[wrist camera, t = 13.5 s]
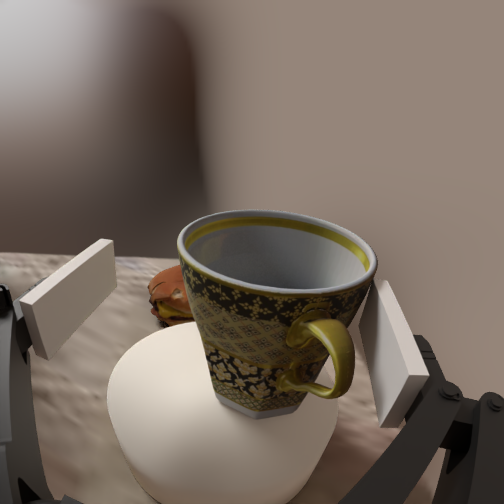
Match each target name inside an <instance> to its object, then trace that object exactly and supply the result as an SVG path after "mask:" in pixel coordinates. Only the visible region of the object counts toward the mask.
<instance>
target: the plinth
mask: <svg viewBox="0 0 504 504" xmlns="http://www.w3.org/2000/svg"><path fill="white" fill-rule="evenodd" d="M314 383H318V384H321V385H323V386H326V387H329V388H331V389H333V387H334V383H333V381H332V379H331V377H330V375H329V374H328V372H327V370H326V369H325V367H324V366H323V368H322V370H321V372H320V374H319V375H318V377H317V379H316V381H315V382H314ZM107 405H108V412H109V415H110V418H111V422H112V425H113V427H114V430H115V433H116V436H117V438H118V441H119V443H120V446H121V449H122V451H123V454H124V456H125V459H126V461H127V463H128V466H129V468H130V470H131V472H132V474H133V475H134V477H135V479H136V480H137V482H138V483H139V484H140V485H141V486H142V488H143V489H144V490H145V491H146V492H147V493H148V494H149V495H151V496H152V497H153V498H154V499H155V500H157V501H158V502H160V503H161V504H286V503H287V502H289V501H290V500H291V499H292V498H294V497H295V496H296V495H297V494H298V493H299V492H300V491H301V489H302V488H303V487H304V485H305V484H306V483H307V481H308V479H309V478H310V476H311V474H312V472H313V470H314V469H315V467H316V465H317V463H318V461H319V459H320V457H321V456H322V454H323V452H324V450H325V448H326V446H327V444H328V442H329V440H330V438H331V436H332V434H333V432H334V430H335V426H336V422H337V419H338V407H339V406H338V398H335V399H324V398H321V397H318V396H316V395H314V394H312V393H310V392H308V394H307V395H306V397H305V398H304V400H303V402H302V403H301V405H300V406H299V408H298V409H297V410H296V411H295V412H293V413H291V414H286V415H281V416H275V417H270V418H264V419H258V420H256V419H253V418H251V417H249V416H247V415H245V414H243V413H241V412H239V411H237V410H235V409H233V408H231V407H229V406H227V405H225V404H223V403H222V402H220V401H219V400H218V399H217V398H216V396H215V393H214V389H213V386H212V382H211V378H210V373H209V369H208V364H207V360H206V356H205V352H204V348H203V344H202V340H201V336H200V333H199V330H198V328H197V325H196V322H189V323H184V324H179V325H175V326H171V327H168V328H165V329H162V330H160V331H157V332H155V333H153V334H151V335H149V336H147V337H145V338H143V339H142V340H141V341H139V342H138V343H136V344H135V345H134V346H132V347H131V348H130V349H129V350H128V351H127V352H126V353H125V354H124V355H123V356H122V357H121V359H120V360H119V362H118V363H117V365H116V366H115V368H114V370H113V372H112V375H111V377H110V380H109V384H108V389H107Z"/></svg>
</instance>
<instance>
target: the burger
mask: <svg viewBox="0 0 504 504" xmlns="http://www.w3.org/2000/svg"><path fill="white" fill-rule="evenodd" d="M148 289H149V293H150V294H151V297H150V300H149V302H150V303H151V304H152V306H153V308H152V309H151V313H152V314H153V315H156V316H157V318H158V319H159V320H160V321H165V322H166V323H167V324H168V325H169V326H170V327H171V326H175V325H179V324H184V323H189V322H195V319H194V317H193V314H192V311H191V308H190V305H189V301H188V297H187V293H186V289H185V285H184V280H183V276H182V271H181V265H178V266H174V267H172V268H169V269H166V270H164V271H162V272H160V273H159V274H157V275H156V276H155V277H154V278H153V279H152V280H151V281H150V283H149V285H148Z"/></svg>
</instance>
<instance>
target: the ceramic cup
mask: <svg viewBox="0 0 504 504" xmlns="http://www.w3.org/2000/svg"><path fill="white" fill-rule="evenodd" d="M177 247H178V253H179V259H180V265H181V271H182V276H183V280H184V285H185V289H186V293H187V297H188V301H189V305H190V308H191V311H192V314H193V317H194V319H195V322H196V325H197V328H198V330H199V333H200V336H201V340H202V344H203V348H204V352H205V356H206V360H207V364H208V369H209V373H210V378H211V382H212V386H213V389H214V393H215V396H216V398H217V399H218V400H219V401H220V402H222V403H223V404H225V405H227V406H229V407H231V408H233V409H235V410H237V411H239V412H241V413H243V414H245V415H247V416H249V417H251V418H253V419H256V420H258V419H264V418H270V417H275V416H281V415H286V414H291V413H293V412H295V411H296V410H297V409H298V408H299V406H300V405H301V403H302V402H303V400H304V398H305V397H306V395H307V394H308V392H310V393H312V394H314V395H316V396H318V397H321V398H324V399H335V398H338V397H341V396H342V395H343V394H345V393H346V392H347V391H348V390H349V388H350V386H351V383H352V380H353V375H354V368H355V350H354V344H353V341H352V338H351V336H350V334H349V331H348V330H347V328H348V326H349V325H350V323H351V322H352V320H353V318H354V316H355V315H356V313H357V311H358V309H359V307H360V305H361V303H362V301H363V300H364V297H365V296H366V294H367V291H368V289H369V287H370V285H371V282H372V280H373V278H374V275H375V273H376V270H377V265H378V260H377V256H376V254H375V252H374V251H373V249H372V248H371V247H370V246H369V245H368V244H367V242H365V241H364V240H363V239H362V238H360V237H359V236H357V235H356V234H354V233H352V232H351V231H349V230H347V229H345V228H343V227H341V226H338V225H336V224H333V223H330V222H328V221H324V220H321V219H318V218H314V217H311V216H306V215H301V214H296V213H290V212H283V211H273V210H236V211H227V212H221V213H216V214H213V215H209V216H206V217H203V218H200V219H198V220H196V221H194V222H192V223H190V224H189V225H188V226H186V227H185V228H184V229H183V230H182V231H181V233H180V235H179V237H178V241H177ZM329 355H331V357H332V361H333V365H334V369H335V374H336V375H335V384H334V387H333V389H331V388H329V387H326V386H323V385H321V384H318V383H314V382H315V381H316V379H317V377H318V375H319V374H320V372H321V370H322V368H323V366H324V364H325V362H326V360H327V359H328V357H329Z"/></svg>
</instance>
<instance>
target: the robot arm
mask: <svg viewBox="0 0 504 504" xmlns="http://www.w3.org/2000/svg"><path fill="white" fill-rule="evenodd" d="M116 287H117V281H116V271H115V260H114V247H113V240H106V239H100V240H98V241H97V242H96V243H94V244H93V245H91V246H90V247H89V248H87V249H86V250H84V251H83V252H81V253H80V254H79V255H77V256H76V257H75V258H73V259H72V260H70V261H69V262H68V263H66V264H65V265H64V266H62V267H61V268H60V269H58V270H57V271H56V272H54V273H53V274H52V275H50V276H48V277H46V278H43V279H41V280H40V281H39V282H37V283H36V284H35V285H34V286H32V287H31V288H30V289H29V290H27V291H26V292H25V293H23V294H22V295H21V296H19V297H18V298H17V299H16V300H15V301H13V302H12V299H11V295H10V291H9V287H8V286H7V285H6V284H0V504H83V503H81V502H79V501H77V500H75V499H73V498H70V497H68V496H66V495H64V497H63V498H62V500H61V501H60V500H54V498H53V496H52V494H51V492H50V491H49V489H48V486H47V483H46V479H45V474H44V470H43V465H42V460H41V455H40V450H39V444H38V438H37V431H36V424H35V416H34V408H33V398H32V386H31V370H30V355H29V351H28V348H29V347H30V346H31V345H33V348H34V351H35V353H36V355H37V356H39V357H42V358H44V359H46V360H50V359H51V357H52V356H53V355H54V354H55V353H56V352H57V351H58V350H59V348H60V347H61V346H62V345H63V344H64V343H65V342H66V341H67V340H68V338H69V337H70V336H71V335H72V334H73V333H74V332H75V331H76V330H77V329H78V327H79V326H80V325H81V324H82V323H83V322H84V321H85V320H86V319H87V318H88V317H89V316H90V315H91V313H92V312H93V311H94V310H95V309H96V308H97V307H98V306H99V305H100V304H101V303H102V302H103V301H104V300H105V299H106V298H107V297H108V296H109V295H110V294H111V293H112V291H113V290H114V289H115V288H116ZM359 330H360V334H361V338H362V343H363V347H364V351H365V356H366V360H367V365H368V370H369V374H370V379H371V384H372V389H373V394H374V399H375V405H376V410H377V416H378V421H379V427H380V428H398V427H399V426H400V424H401V422H402V421H403V419H404V418H405V421H406V425H405V426H404V427H403V429H402V430H401V431H400V433H399V434H398V435H397V437H396V438H395V439H394V440H393V442H392V443H391V444H390V446H389V447H388V448H387V449H386V451H385V452H384V453H383V454H382V455H381V457H380V458H379V459H378V460H377V461H376V463H375V464H374V465H373V466H372V467H371V468H370V470H369V471H368V472H367V473H366V474H365V475H364V476H363V478H362V479H361V480H360V481H359V482H358V483H357V484H356V485H355V486H354V487H353V488H352V489H351V490H350V492H349V493H348V494H347V495H346V496H345V497H344V498H343V499H342V500H341V501H340V502H339V503H338V504H403V502H404V501H405V500H406V498H407V497H408V495H409V494H410V492H411V491H412V490H413V488H414V487H415V485H416V484H417V482H418V481H419V479H420V478H421V476H422V474H423V473H424V471H425V470H426V468H427V466H428V465H429V463H430V462H431V460H432V458H433V456H434V455H435V453H436V451H437V449H438V448H439V447H440V448H444V449H446V452H445V457H444V461H443V466H442V469H441V473H440V478H439V481H438V485H437V488H436V492H435V495H434V498H433V502H432V504H504V398H502V397H501V396H500V395H498V394H496V393H493V392H487V393H485V394H484V395H483V396H482V397H481V398H480V400H479V401H477V400H473V399H469V398H464V397H463V395H462V392H461V390H460V389H459V388H458V387H457V386H456V385H455V384H453V383H451V382H448V381H446V379H445V377H444V375H443V373H442V370H441V368H440V366H439V364H438V361H437V360H436V357H435V355H434V353H433V351H432V348H431V346H430V344H429V343H428V341H427V340H425V339H424V338H423V336H422V335H412V333H411V330H410V328H409V326H408V323H407V321H406V319H405V317H404V315H403V313H402V310H401V308H400V306H399V304H398V302H397V300H396V298H395V295H394V293H393V291H392V289H391V287H390V285H389V283H388V281H387V280H380V279H373V280H372V283H371V286H370V290H369V293H368V297H367V300H366V304H365V307H364V310H363V313H362V316H361V319H360V323H359Z"/></svg>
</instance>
